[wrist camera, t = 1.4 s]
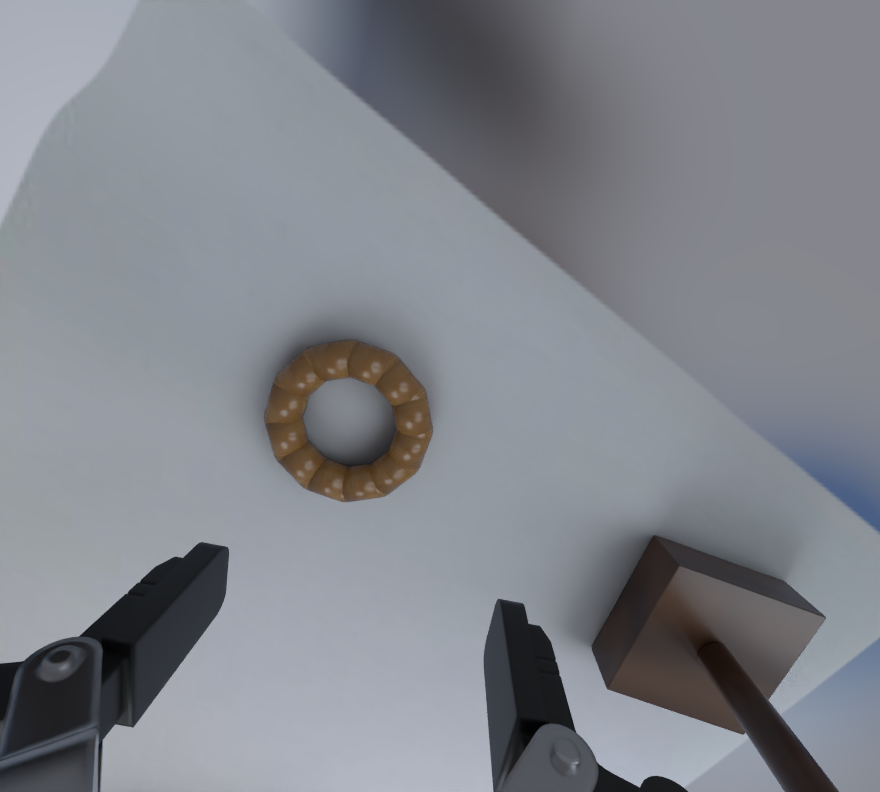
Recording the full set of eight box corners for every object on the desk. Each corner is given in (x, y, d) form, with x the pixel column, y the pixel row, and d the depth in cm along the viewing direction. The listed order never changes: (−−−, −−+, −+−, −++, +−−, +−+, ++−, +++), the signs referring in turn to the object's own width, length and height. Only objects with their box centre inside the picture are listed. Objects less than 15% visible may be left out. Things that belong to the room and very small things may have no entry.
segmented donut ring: (299, 316, 23) (285, 317, 21) (454, 373, 24) (454, 380, 22) (258, 460, 26) (242, 474, 24) (401, 511, 26) (397, 528, 24)
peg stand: (653, 534, 26) (911, 846, 11) (786, 581, 26) (1199, 941, 12) (590, 648, 28) (739, 1035, 13) (714, 690, 28) (989, 1109, 14)
